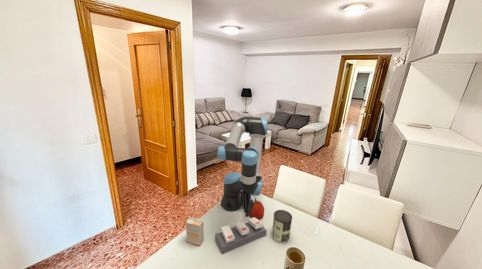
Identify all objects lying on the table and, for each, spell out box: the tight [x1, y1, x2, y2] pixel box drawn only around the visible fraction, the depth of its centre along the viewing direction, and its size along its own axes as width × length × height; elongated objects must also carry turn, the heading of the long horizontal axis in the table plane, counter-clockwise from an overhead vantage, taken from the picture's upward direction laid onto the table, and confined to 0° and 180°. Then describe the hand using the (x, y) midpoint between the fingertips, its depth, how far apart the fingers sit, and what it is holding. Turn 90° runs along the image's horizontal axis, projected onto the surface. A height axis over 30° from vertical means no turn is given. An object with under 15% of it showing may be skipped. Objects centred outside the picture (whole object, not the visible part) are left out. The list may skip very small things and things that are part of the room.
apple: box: [249, 200, 265, 220], centre depth 126 cm, size 10×10×10 cm
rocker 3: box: [247, 217, 263, 229], centre depth 112 cm, size 8×4×3 cm, turn 29°
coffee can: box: [271, 209, 293, 244], centre depth 109 cm, size 10×10×14 cm
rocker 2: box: [234, 220, 249, 235], centre depth 107 cm, size 8×4×2 cm, turn 29°
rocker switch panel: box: [214, 221, 268, 255], centre depth 108 cm, size 10×28×5 cm, turn 119°
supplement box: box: [185, 216, 205, 247], centre depth 103 cm, size 8×5×13 cm, turn 74°
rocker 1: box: [220, 224, 235, 243], centre depth 102 cm, size 8×4×2 cm, turn 29°
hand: (245, 220), depth 103 cm, fingers closed
